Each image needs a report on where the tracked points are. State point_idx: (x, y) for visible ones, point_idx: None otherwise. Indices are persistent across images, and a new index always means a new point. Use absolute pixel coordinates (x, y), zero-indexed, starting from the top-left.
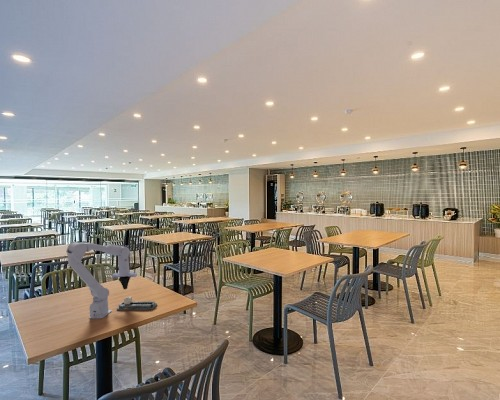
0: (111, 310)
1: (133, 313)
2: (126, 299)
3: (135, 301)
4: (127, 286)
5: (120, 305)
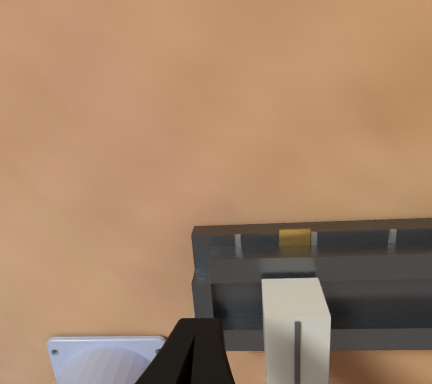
0: (162, 345)
1: (392, 368)
2: (301, 381)
3: (350, 255)
4: (223, 341)
5: (232, 349)
